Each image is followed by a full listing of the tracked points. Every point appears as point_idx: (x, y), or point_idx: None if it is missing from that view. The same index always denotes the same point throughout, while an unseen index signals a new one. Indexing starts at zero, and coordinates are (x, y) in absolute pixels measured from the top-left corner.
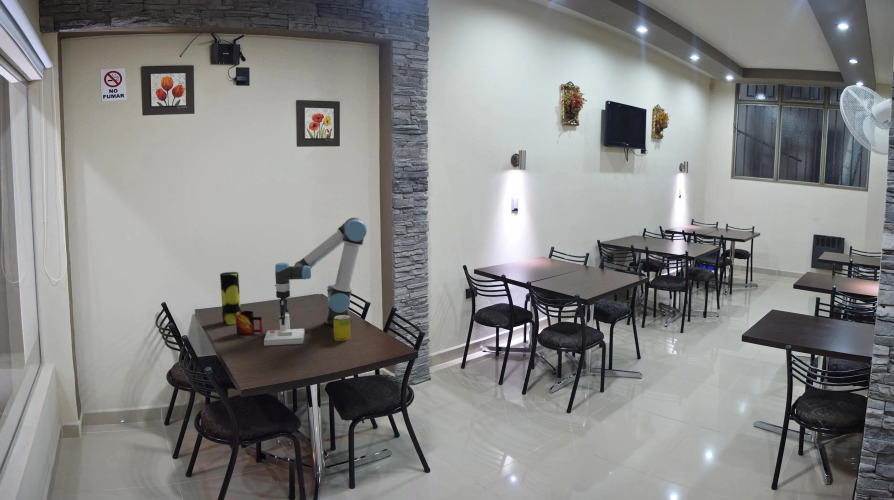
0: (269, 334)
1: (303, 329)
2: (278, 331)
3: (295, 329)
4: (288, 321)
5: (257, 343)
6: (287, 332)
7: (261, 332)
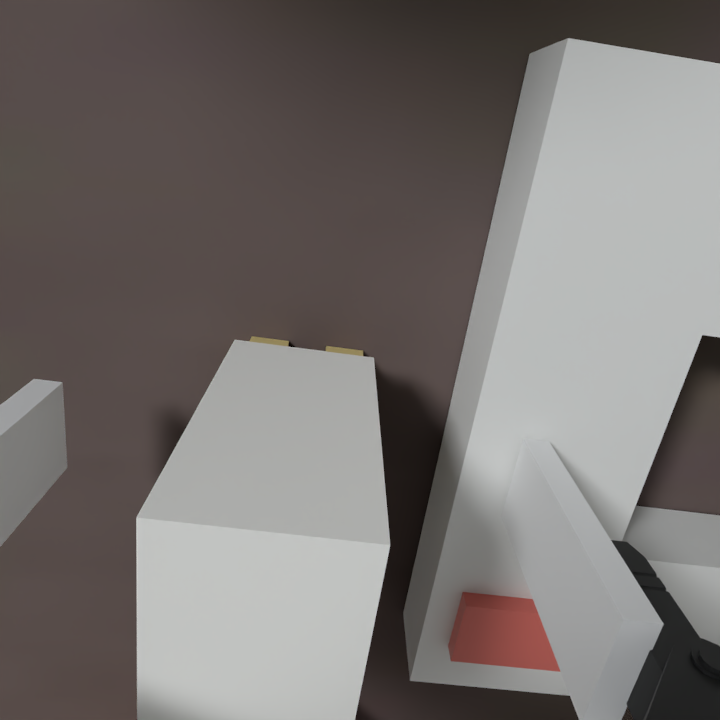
0: None
1: (644, 69)
2: None
3: (553, 257)
4: (379, 449)
5: None
6: (668, 416)
7: None
